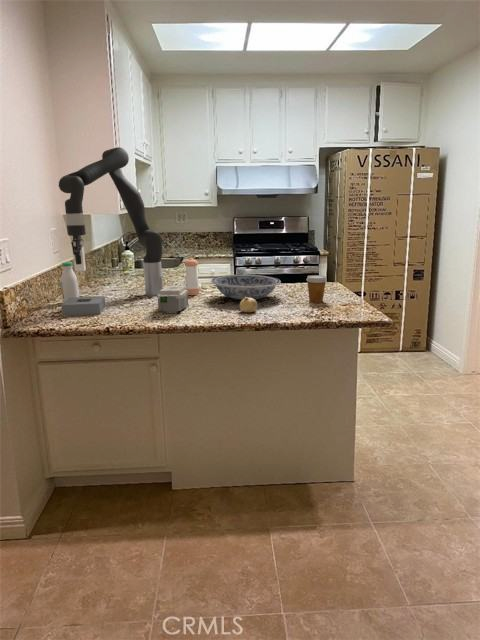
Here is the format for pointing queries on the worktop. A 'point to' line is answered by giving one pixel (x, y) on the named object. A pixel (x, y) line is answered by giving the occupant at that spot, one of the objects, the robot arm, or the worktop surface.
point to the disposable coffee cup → (316, 288)
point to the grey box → (172, 299)
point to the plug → (81, 266)
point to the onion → (248, 305)
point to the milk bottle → (69, 282)
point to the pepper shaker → (191, 277)
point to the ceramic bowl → (245, 286)
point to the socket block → (83, 306)
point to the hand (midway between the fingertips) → (79, 263)
